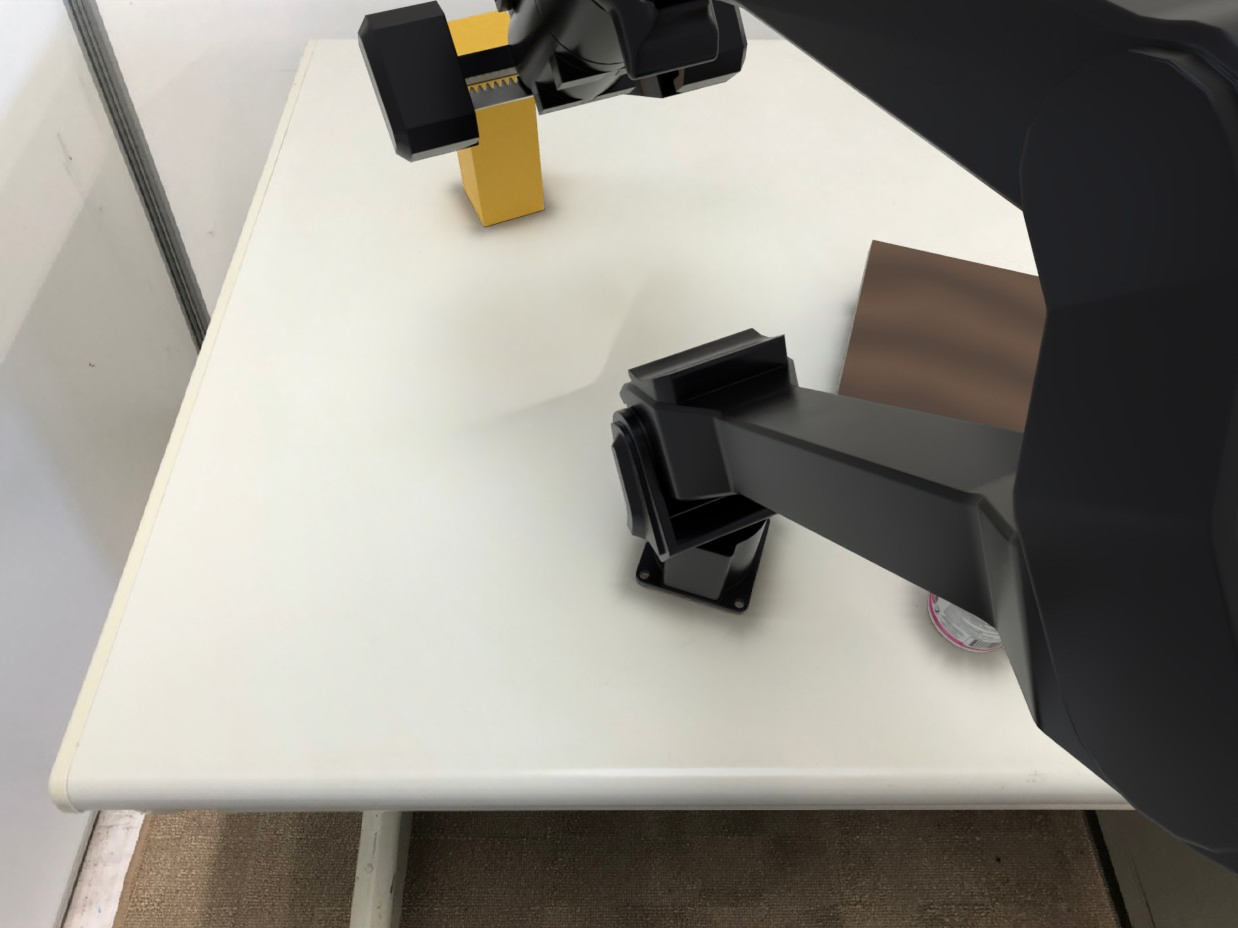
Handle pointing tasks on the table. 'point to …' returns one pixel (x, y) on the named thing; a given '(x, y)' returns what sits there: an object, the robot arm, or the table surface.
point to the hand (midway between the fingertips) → (531, 99)
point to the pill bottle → (962, 626)
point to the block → (499, 136)
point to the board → (944, 337)
